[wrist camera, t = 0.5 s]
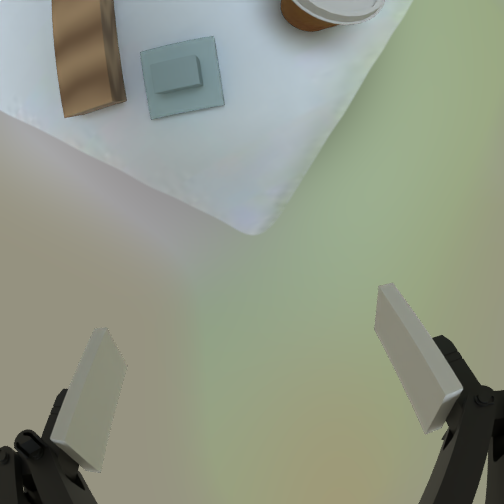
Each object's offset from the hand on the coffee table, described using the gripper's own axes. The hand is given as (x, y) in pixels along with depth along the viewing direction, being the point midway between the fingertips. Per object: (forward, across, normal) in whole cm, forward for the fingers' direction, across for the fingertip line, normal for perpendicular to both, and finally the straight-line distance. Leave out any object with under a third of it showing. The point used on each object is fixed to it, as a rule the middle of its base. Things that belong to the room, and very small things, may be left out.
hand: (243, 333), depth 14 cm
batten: (+26, -14, +22) cm, 36 cm away
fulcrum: (+26, -4, +14) cm, 29 cm away
